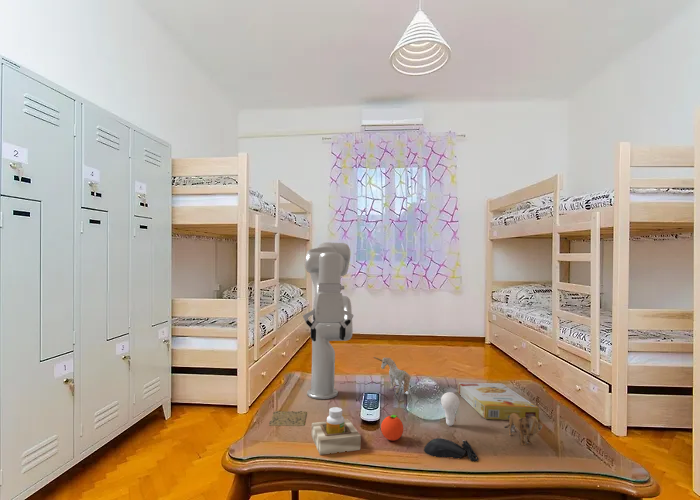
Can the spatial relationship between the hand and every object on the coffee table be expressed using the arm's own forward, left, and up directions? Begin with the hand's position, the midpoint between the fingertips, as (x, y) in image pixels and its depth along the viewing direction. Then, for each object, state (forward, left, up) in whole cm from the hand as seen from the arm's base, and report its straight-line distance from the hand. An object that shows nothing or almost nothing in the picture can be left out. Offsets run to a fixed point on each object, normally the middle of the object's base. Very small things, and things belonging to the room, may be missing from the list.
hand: (327, 339), depth 123 cm
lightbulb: (+10, +41, -28) cm, 51 cm away
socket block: (+12, 0, -28) cm, 31 cm away
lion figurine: (+25, +58, -29) cm, 69 cm away
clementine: (+14, +18, -28) cm, 36 cm away
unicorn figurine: (-26, +35, -28) cm, 52 cm away
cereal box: (-2, +69, -29) cm, 75 cm away
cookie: (-9, -11, -29) cm, 32 cm away
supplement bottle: (+12, 0, -28) cm, 31 cm away
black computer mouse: (+26, +31, -29) cm, 49 cm away
